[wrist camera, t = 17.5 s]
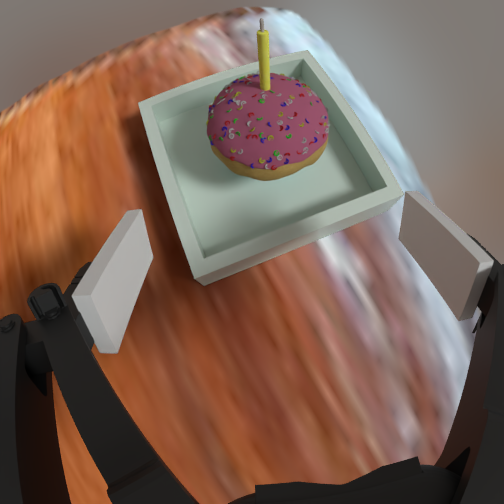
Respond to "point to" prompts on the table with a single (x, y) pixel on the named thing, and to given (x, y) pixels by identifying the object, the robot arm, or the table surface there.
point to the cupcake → (267, 122)
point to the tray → (255, 191)
